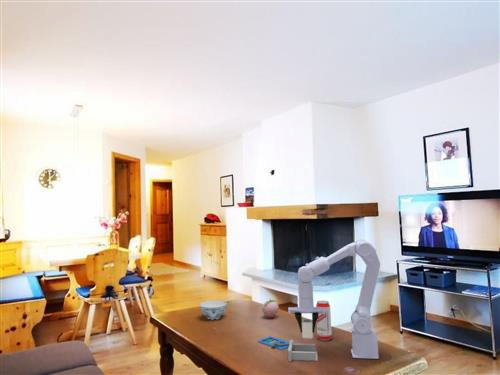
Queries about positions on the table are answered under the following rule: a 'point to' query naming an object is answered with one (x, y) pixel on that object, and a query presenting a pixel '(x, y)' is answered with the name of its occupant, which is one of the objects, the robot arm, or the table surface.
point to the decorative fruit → (270, 308)
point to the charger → (307, 329)
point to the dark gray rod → (280, 345)
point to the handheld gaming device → (274, 342)
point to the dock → (302, 352)
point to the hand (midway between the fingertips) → (307, 331)
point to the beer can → (324, 322)
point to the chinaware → (213, 309)
